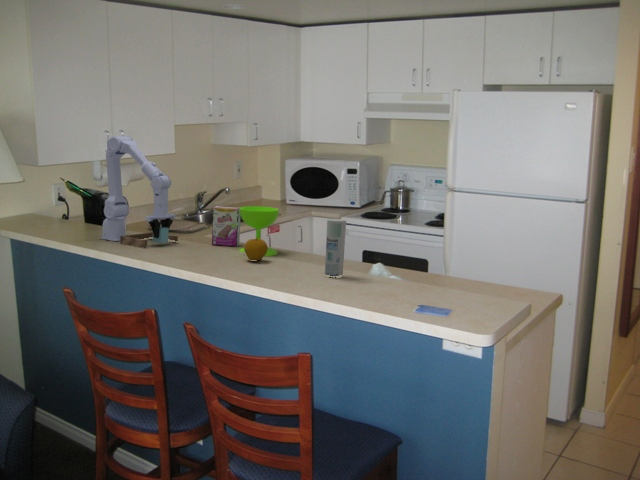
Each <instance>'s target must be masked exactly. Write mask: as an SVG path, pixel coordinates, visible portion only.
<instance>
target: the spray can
mask: <svg viewBox="0 0 640 480" xmlns="http://www.w3.org/2000/svg"><path fill="white" fill-rule="evenodd" d="M326 221H327V222H326V241H325V242H326V244H325V263H324V264H325V265H324V275H325V274H326V275H330V276H339V275H342V274H343V275H344V259H345V244H346V230H347V229H346V227H347V219H342V218H328V219H327V220H326Z"/></svg>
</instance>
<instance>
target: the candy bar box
mask: <svg viewBox="0 0 640 480" xmlns="http://www.w3.org/2000/svg"><path fill="white" fill-rule="evenodd" d="M239 208H240V207H231V206H222V205H221V206H220V205H216V206H213V207H212V226H211V227H212V232H211V233H212V234H211V245H212V246H220V247H221V246H222V247H235V248H237V247H238V246H240V235H241V234H240V233H241V215H240V209H239Z"/></svg>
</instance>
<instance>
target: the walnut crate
mask: <svg viewBox="0 0 640 480" xmlns="http://www.w3.org/2000/svg"><path fill="white" fill-rule="evenodd" d="M149 237H153V231H152V232H145V233H144V232H143V233H136V234H128V235H126V234H125V236H120V241H119V243H120V244H121V245H122V244H123V245H126V244H128V245H127V246H131V245H133V246H132V247H137V248H142V247H144V248H143V249H147V248H148V240H141V239H144V238H149ZM168 239H170V240H175V241H179V236H178V235H173V234H168ZM146 247H147V248H146Z"/></svg>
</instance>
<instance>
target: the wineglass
mask: <svg viewBox="0 0 640 480" xmlns="http://www.w3.org/2000/svg"><path fill="white" fill-rule="evenodd" d="M238 208H239V209H240V219H242V220H243V222H244V223H245V224H246V225H247V226H248V227H251V228H253V229H255V230H256V231H255V239H256V238H257V239H261V240H262V237H261V236H262V235H261V234H262V233H261V232H262V229H265V228H268V227H269V226H271V225H272V224H274V222H275V221H276V220H277V218H278V217H279V216H278V215H279V212H280V209H279V208H276V207H270V206H269V207H268V206H241V207H238ZM238 251H240V252H245V250H244V247H242V248H240V249H238ZM265 255H266V256H265V257H270V256H271V257H272V256H277V255H278V251H277V250H276V249H274V248H270V247H268V250H267V253H266V254H265Z"/></svg>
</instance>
